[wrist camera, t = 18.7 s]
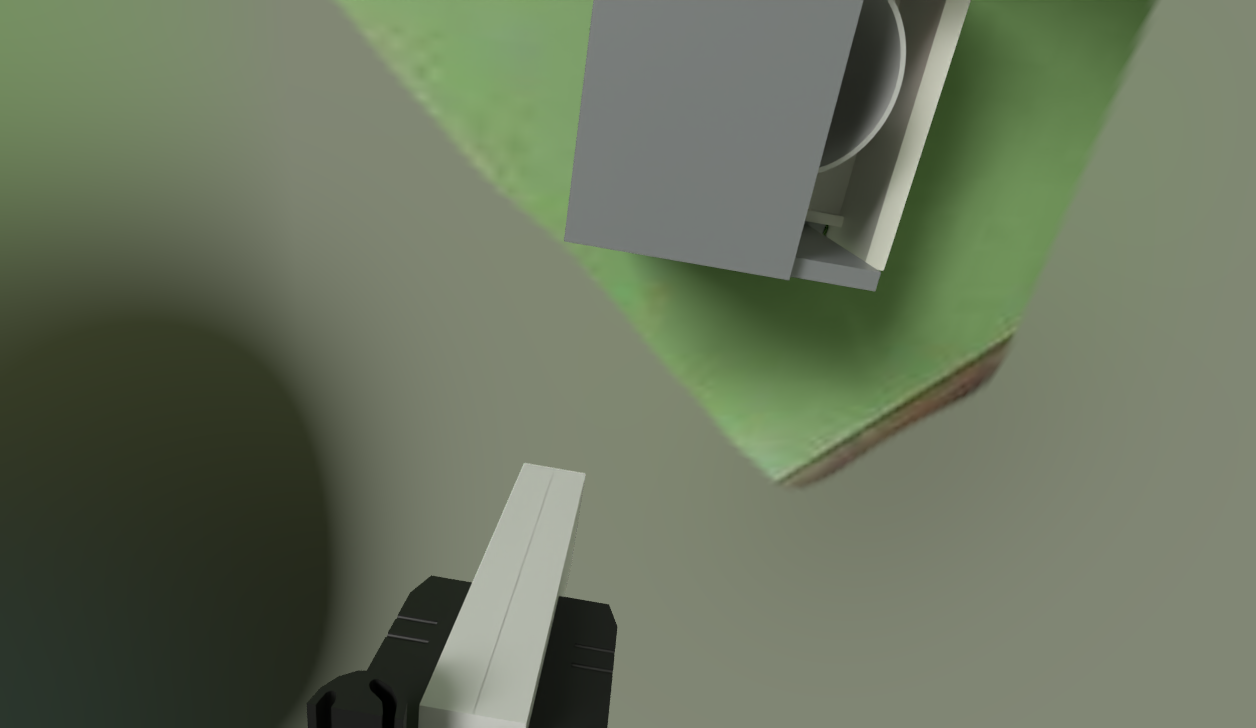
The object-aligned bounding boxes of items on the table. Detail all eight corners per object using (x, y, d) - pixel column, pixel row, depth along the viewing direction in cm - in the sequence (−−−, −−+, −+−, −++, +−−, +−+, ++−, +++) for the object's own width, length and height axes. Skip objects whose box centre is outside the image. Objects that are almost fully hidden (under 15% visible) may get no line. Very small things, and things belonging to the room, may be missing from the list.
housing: (601, 200, 38) (563, 241, 24) (642, -84, 32) (624, -249, 18) (817, 238, 38) (906, 300, 24) (894, -40, 32) (1068, -171, 18)
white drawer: (619, 204, 37) (607, 222, 30) (663, -83, 32) (662, -149, 24) (849, 245, 37) (895, 272, 30) (932, -36, 32) (1014, -87, 25)
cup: (796, 186, 35) (843, 206, 26) (665, 133, 34) (665, 134, 25) (865, 38, 32) (947, -1, 23) (724, -23, 31) (748, -89, 22)
